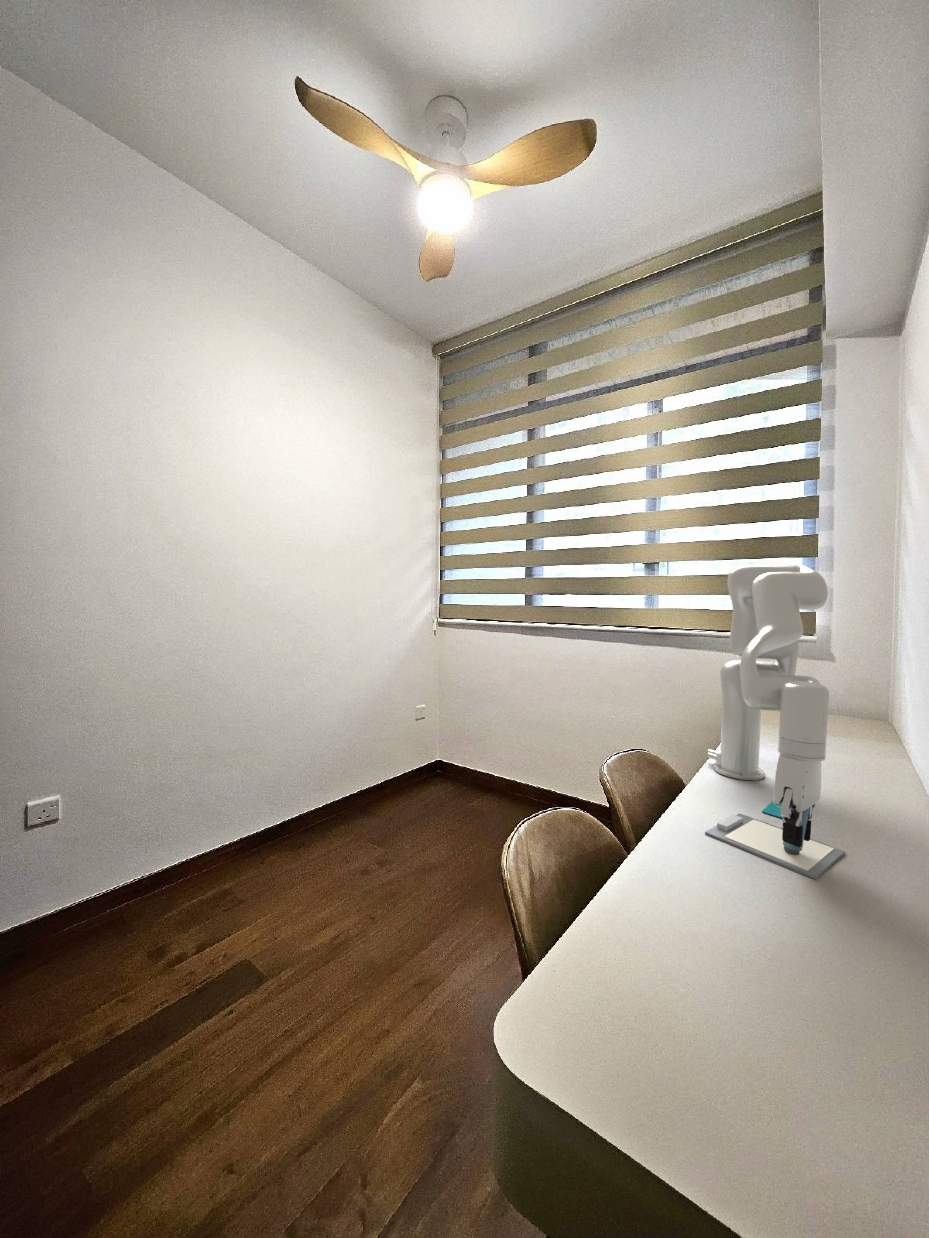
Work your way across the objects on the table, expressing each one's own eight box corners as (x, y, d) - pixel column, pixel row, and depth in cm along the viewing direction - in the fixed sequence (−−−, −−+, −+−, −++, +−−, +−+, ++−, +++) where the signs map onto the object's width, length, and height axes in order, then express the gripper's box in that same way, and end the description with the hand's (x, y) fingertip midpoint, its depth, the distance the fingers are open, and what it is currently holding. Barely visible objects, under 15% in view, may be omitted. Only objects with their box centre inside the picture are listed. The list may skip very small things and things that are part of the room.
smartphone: (760, 810, 115) (781, 793, 126) (760, 814, 116) (781, 796, 126) (797, 822, 110) (815, 802, 120) (797, 825, 110) (815, 806, 120)
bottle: (778, 849, 97) (787, 796, 96) (785, 844, 99) (794, 792, 98) (797, 857, 95) (806, 803, 93) (804, 852, 97) (813, 799, 95)
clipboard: (704, 833, 105) (705, 827, 105) (739, 815, 114) (739, 808, 114) (815, 879, 89) (815, 871, 89) (844, 853, 98) (845, 846, 98)
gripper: (797, 735, 103) (792, 821, 104) (760, 749, 93) (755, 845, 94) (840, 744, 97) (835, 836, 98) (806, 761, 87) (800, 863, 88)
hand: (796, 839), depth 96 cm, fingers closed on bottle, 3 cm apart
